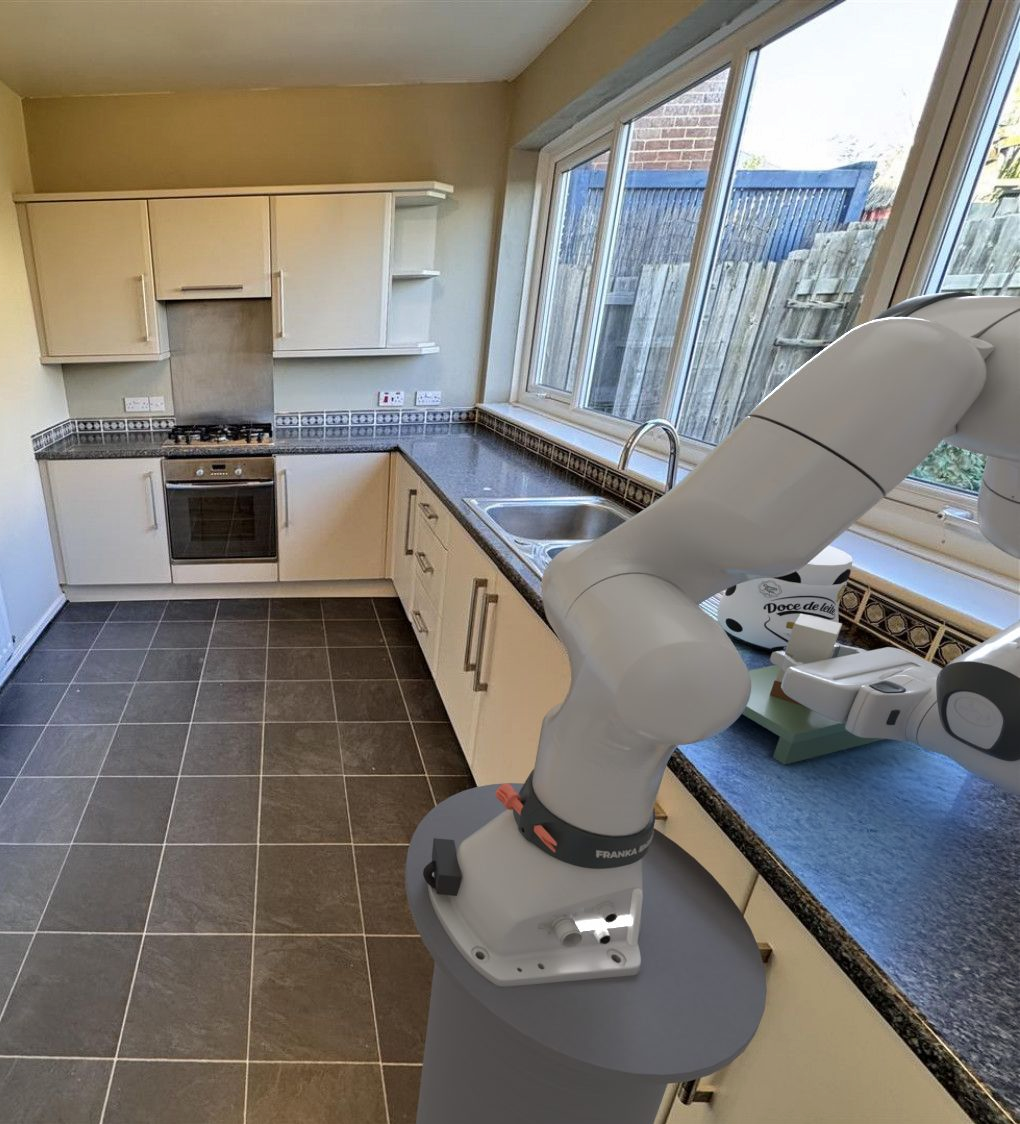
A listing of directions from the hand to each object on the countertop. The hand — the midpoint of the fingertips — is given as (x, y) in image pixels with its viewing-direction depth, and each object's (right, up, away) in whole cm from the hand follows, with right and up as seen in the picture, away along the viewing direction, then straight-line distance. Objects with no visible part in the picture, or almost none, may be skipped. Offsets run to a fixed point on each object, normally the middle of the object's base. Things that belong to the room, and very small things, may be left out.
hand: (799, 650), depth 88 cm
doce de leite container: (+17, -2, +27) cm, 32 cm away
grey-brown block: (+2, -6, +3) cm, 7 cm away
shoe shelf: (+3, -11, +4) cm, 12 cm away
